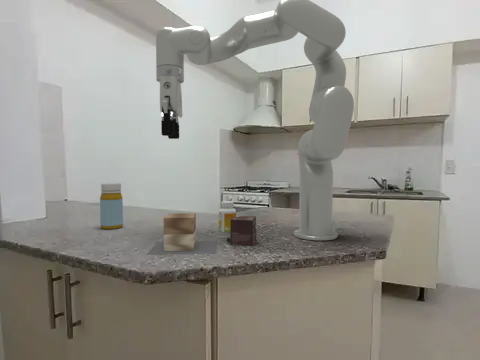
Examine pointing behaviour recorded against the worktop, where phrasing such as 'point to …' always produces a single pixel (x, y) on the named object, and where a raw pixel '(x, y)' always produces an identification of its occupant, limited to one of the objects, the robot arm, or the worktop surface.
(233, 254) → the worktop surface
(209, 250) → the mat
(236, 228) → the box
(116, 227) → the bottle
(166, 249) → the tower base
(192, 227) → the tower top
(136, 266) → the worktop surface
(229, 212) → the supplement bottle
